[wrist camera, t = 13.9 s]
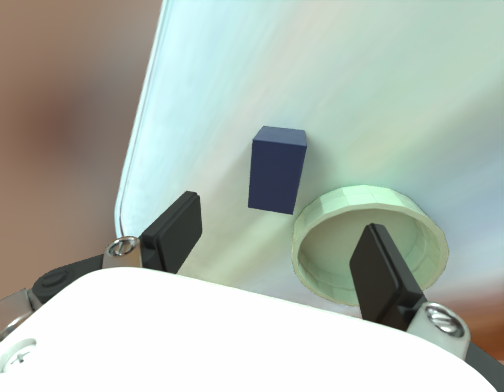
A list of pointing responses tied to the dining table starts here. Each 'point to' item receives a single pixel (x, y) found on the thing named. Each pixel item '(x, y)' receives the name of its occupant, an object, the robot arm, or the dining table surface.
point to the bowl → (349, 232)
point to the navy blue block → (276, 169)
